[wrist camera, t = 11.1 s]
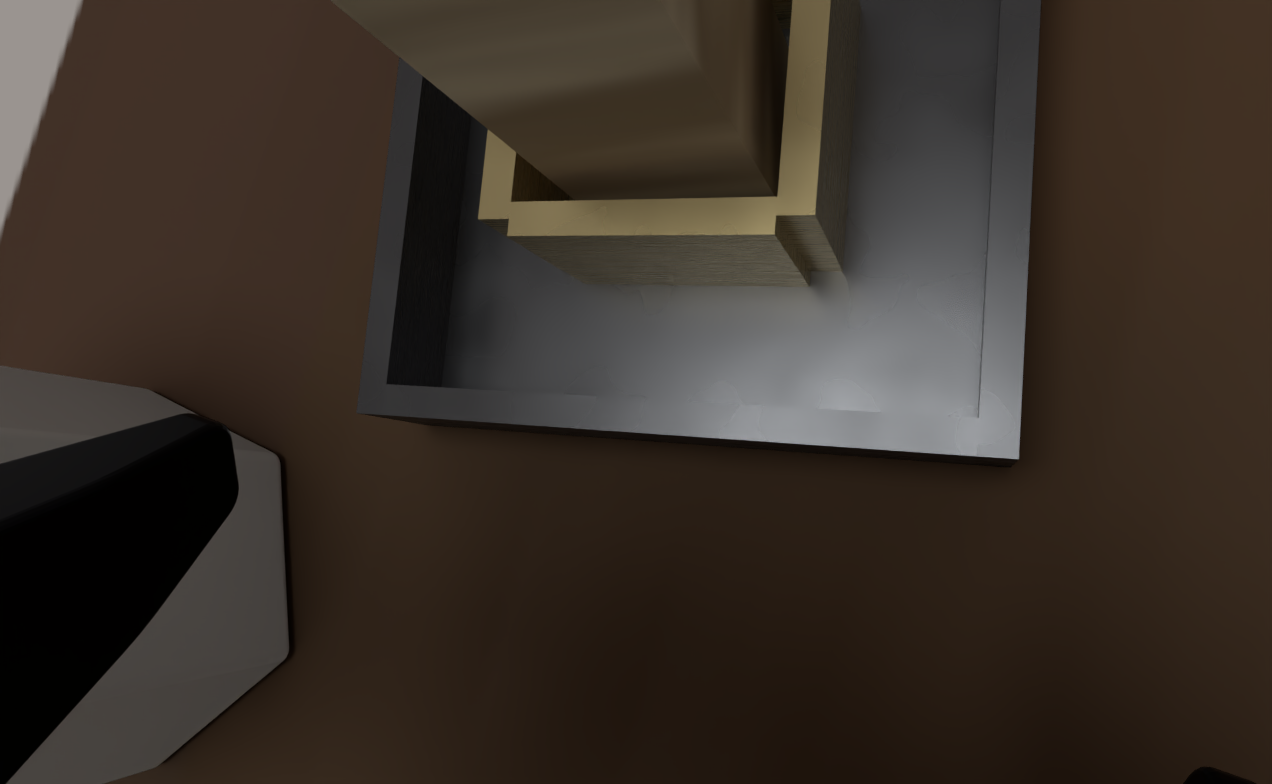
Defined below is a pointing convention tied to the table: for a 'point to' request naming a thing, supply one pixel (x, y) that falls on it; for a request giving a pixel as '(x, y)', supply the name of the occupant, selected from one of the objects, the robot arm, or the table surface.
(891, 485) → the table surface
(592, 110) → the tan square peg
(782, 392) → the gray square tray
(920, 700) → the table surface
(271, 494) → the jar
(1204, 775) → the robot arm
